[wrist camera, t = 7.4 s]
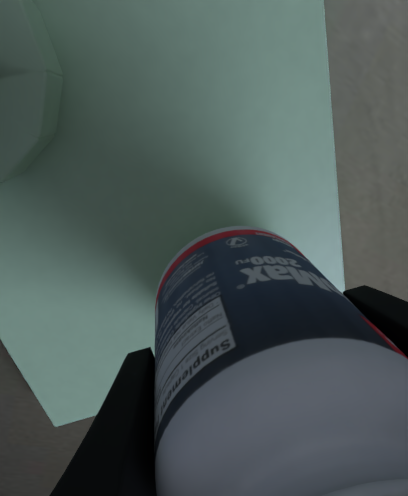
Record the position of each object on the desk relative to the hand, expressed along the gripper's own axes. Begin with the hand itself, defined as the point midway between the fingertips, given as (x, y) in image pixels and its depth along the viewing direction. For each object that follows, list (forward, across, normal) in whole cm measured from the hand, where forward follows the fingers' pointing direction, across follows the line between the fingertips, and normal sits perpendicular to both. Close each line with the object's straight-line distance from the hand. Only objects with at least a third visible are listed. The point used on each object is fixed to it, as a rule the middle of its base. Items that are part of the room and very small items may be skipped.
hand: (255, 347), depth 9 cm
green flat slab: (+5, +2, -4) cm, 7 cm away
